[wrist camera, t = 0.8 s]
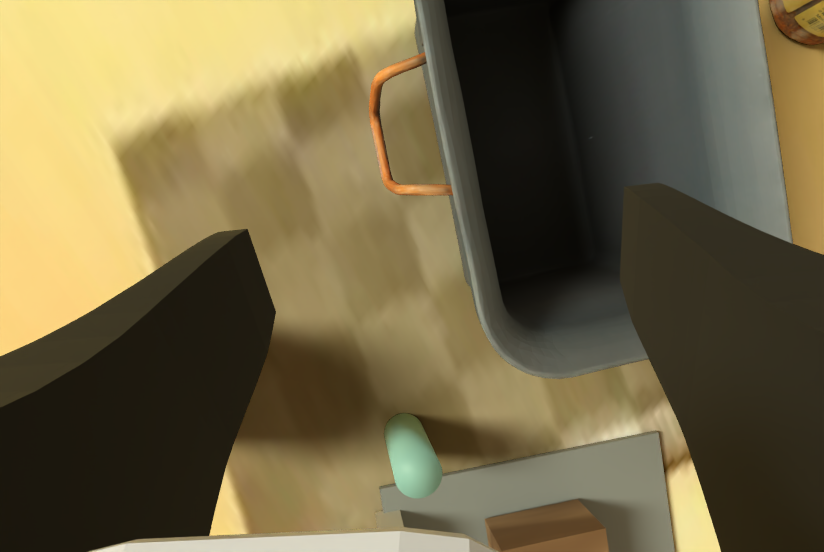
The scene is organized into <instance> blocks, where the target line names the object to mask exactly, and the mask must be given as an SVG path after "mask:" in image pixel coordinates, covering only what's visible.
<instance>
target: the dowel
mask: <svg viewBox="0 0 824 552" xmlns="http://www.w3.org/2000/svg"><path fill="white" fill-rule="evenodd" d="M384 437H385V441H386V445H387V449H388V454H389V458H390V462H391V466H392V470H393V474H394V479H395V483H396V485H397V487H398V489H399V490H400V491H401V492H402V493H403V494H404V495H406V496H408V497H411V498H424V497H427V496H429V495H431V494H432V493H433V492H435V491H436V489H437V488H438V487H439V485H440V483H441V480H442V467H441V464H440V462H439V460H438V458H437V456H436V454H435V452H434V449H433V447H432V445H431V443H430V441H429V439H428V437H427V435H426V433H425V430H424V428H423V426H422V424H421V422H420V421H419V420H418V418H416V417H415V416H413V415H411V414H407V413H401V414H397V415H395V416H393V417H392V418H391V419H390V420H389V421H388V422H387V424H386V426H385V430H384Z"/></svg>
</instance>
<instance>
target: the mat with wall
mask: <svg viewBox="0 0 824 552" xmlns="http://www.w3.org/2000/svg"><path fill="white" fill-rule="evenodd" d="M379 488H380V494H381V500H382V506H383V511H378V512H375V515H376V522H377V528H393V527H407V528H416V529H425V530H433V531H442V532H451V533H460V534H465V535H467V536H469V537H471V538H473V539H475V540H477V541H479V542H481V543H483V544H484V545H486V546H488V547H489V545H488V538H487V532H486V526H485V519H486V518H491V517H496V516H500V515H505V514H510V513H515V512H519V511H524V510H529V509H533V508H538V507H543V506H547V505H552V504H557V503H562V502H566V501H571V500H576V499H578V500H579V501H580V502H581V503H582V504H583V505H584V506H585V507H586V508H587V509H588V510H589V511H590V513H591V514H592V515H593V516H594V517H595V518H596V519H597V520H598V521H599V522H600V523H601V524H602V525H603V526H604V527H605V528H606V534H607V541H608V548H609V552H675V549H674V542H673V534H672V527H671V520H670V512H669V505H668V498H667V490H666V483H665V476H664V469H663V461H662V454H661V447H660V439H659V433H658V432H657V431H652V432H647V433H642V434H637V435H632V436H627V437H622V438H617V439H612V440H607V441H603V442H598V443H593V444H588V445H583V446H578V447H573V448H568V449H563V450H558V451H553V452H548V453H543V454H538V455H533V456H529V457H524V458H519V459H514V460H509V461H504V462H499V463H494V464H489V465H484V466H479V467H474V468H469V469H464V470H459V471H455V472H450V473H445V474H442V480H441V483H440V485H439V487H438V488H437V489H436V491H435V492H433V493H432V494H431V495H429V496H427V497H424V498H411V497H408V496H406V495H404V494H403V493H402V492H401V491H400V490H399V489H398V487H397V485H396V483H395V484H390V485H385V486H381V487H379Z"/></svg>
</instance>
